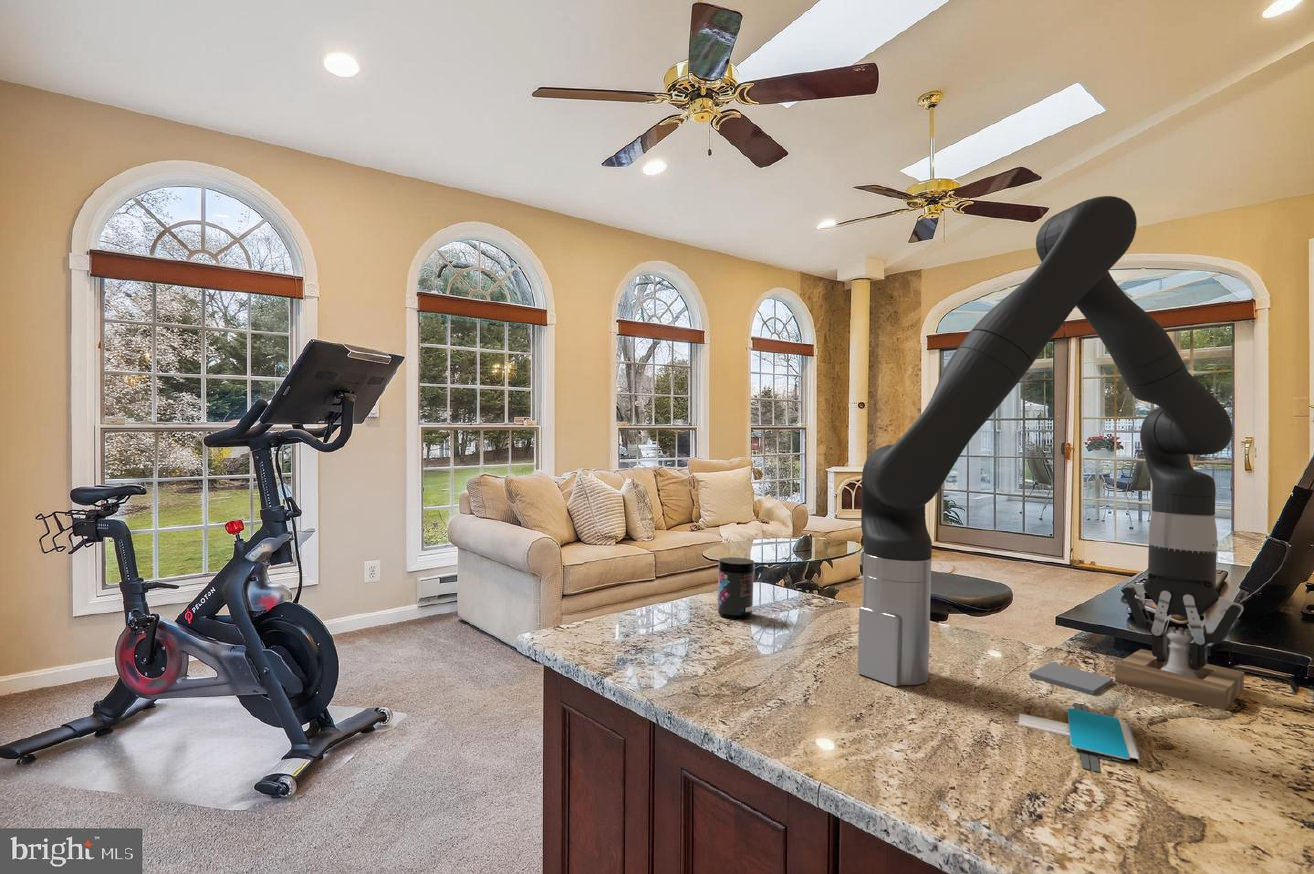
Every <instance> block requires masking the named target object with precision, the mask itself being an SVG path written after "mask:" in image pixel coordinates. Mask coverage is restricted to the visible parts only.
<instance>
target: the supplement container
mask: <svg viewBox="0 0 1314 874" xmlns="http://www.w3.org/2000/svg"><path fill="white" fill-rule="evenodd" d="M717 568H718V577H717V578H718V584H717V585H718V586H717V613H718V615H719V616H721V617H723V618H724V619H729V620H747V619H749V618H751V617H752V615H753V610H754V609H753V606H754V603H753V602H754V577H755V576H754V573H755V561H754V560H752V559H749V558H743V557H731V556H729V557H721V558H719V559H718V567H717Z"/></svg>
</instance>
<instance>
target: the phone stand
mask: <svg viewBox="0 0 1314 874" xmlns="http://www.w3.org/2000/svg"><path fill="white" fill-rule="evenodd" d="M1073 707H1074V708H1071V707H1070V708H1069V707H1068V708H1067V719H1068V723H1066V722H1064V721H1063V722H1062V721H1057V720H1053V719H1048V718H1045V717H1044V718H1043V717H1038V716H1034V715H1028V714H1024V713H1019V714H1018V715H1019V716H1018V726H1020V727H1025V728H1029V729H1033V730H1039V731H1043V732H1046V733H1052V734H1057V735H1060V736H1065V737H1069V739H1070V746H1071V747H1073V748H1074V749H1078V752H1079V760H1080V764H1081V768H1082V769H1085V770H1090V771H1094V772H1098V773H1100V772H1101V770H1100V762H1099V760H1100V759H1102V760H1106V761H1110V762H1111V761H1112V760H1115V761H1119V762H1122V763H1126V764H1127V763H1128V761H1126V760H1130V759H1131V758H1132V759H1136V761H1137V764H1138V765H1140V762H1141V761H1144V760H1145V759H1143V758H1142V757H1143V755H1141V756H1140V754H1141V752H1139V751H1142V750H1141V749H1138V748H1140V746H1137V743H1136V741H1135V740H1136V739H1135V738H1134V736H1136V735H1137V734H1133V733H1134V731H1133V730H1134V729H1133V728H1132V727H1134V726H1133V725H1132V726H1130V725H1131V723H1130V722H1129V718H1127V719H1126V722H1125V721H1124V722H1123V721H1120V718H1118V717H1114V716H1112V715H1111V716H1110V715H1105V714H1102V713H1101V714H1100V713H1096V712H1090V710H1089V709H1090V708H1089V705H1086V704H1081V703H1076V702H1075V703H1073ZM1131 728H1132V729H1131ZM1140 758H1142V759H1140Z"/></svg>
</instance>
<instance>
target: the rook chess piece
mask: <svg viewBox="0 0 1314 874" xmlns="http://www.w3.org/2000/svg"><path fill="white" fill-rule="evenodd" d="M1167 629H1168V630H1166V632H1165V635H1166V636H1167V640H1168V642H1167V660H1166V663H1165V664H1164V665H1163V666H1164V667H1162V668H1161V669H1160V670H1165V671H1169V672H1173V673H1177V674H1181V675H1185V676H1190V677H1194V678H1198V677H1197V676H1196V675H1195V673H1194V670H1192V669H1191V648H1192V646H1191V642H1193V641H1194V639H1193V634H1192V630H1190V629H1188V628H1183V627H1178V629H1176V627H1175V626H1169V627H1168V626H1167Z"/></svg>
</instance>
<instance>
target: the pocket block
mask: <svg viewBox="0 0 1314 874" xmlns="http://www.w3.org/2000/svg"><path fill="white" fill-rule="evenodd" d="M1165 663H1166V661H1165V662H1164V663H1163V662H1158V661H1157V657H1154V656H1153V654H1152V650H1148V649H1143V648H1140V649H1138V650H1137V651H1134V652H1133V653H1131V654H1130V655H1128V656H1126V657H1125V658H1123V659H1122V660H1120V661H1118V662H1116V663H1115V668H1114V669H1115V670H1114V672H1115V677H1114V678H1115V679H1114V681H1115V682H1117V683H1121V684H1125V685H1129V686H1133V687H1136V688H1139V689H1144V690H1147V691H1151V692H1155V693H1159V694H1162V695H1166V696H1171V697H1174V698H1177V699H1182V700H1185V701H1189V702H1193V703H1196V704H1200V705H1204V706H1208V707H1212V708H1215V709H1219V710H1222V711H1226V709H1227V708H1228V707H1229V706H1230V705H1232V703H1233V702H1234V701H1235V700H1236V699H1237V698H1238V697H1239V696H1240V694H1242V693H1243V691H1245V672H1244V671H1241V670H1236V669H1232V668H1228V667H1223V666H1220V665H1219V666H1218V665H1215V664H1209V663H1206V665H1205V666H1204V667H1203V668H1202V667H1201V669H1200V670H1198V671H1197V670H1194V673H1195V675H1196V676H1197V677H1198V678H1194V677H1190V676H1185V675H1181V674H1177V673H1173V672H1169V671H1165V670H1160V669H1161V668H1162V667H1164V666H1163V665H1164V664H1165Z"/></svg>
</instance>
